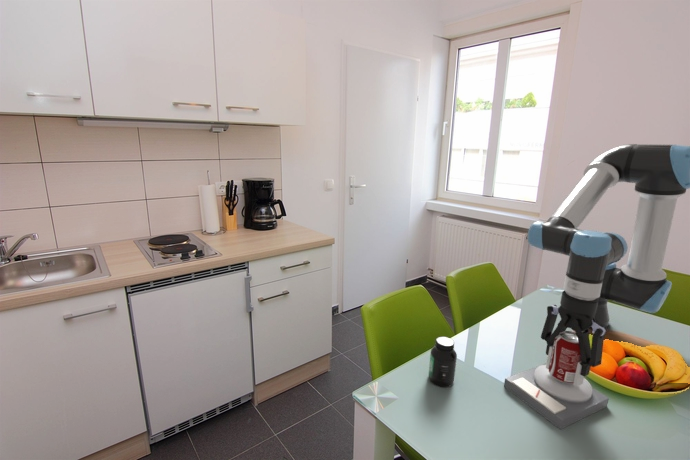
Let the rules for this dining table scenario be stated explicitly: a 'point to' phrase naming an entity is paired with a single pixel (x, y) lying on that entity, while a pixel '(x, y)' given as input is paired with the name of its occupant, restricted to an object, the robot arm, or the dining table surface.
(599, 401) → the scale
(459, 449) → the dining table surface
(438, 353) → the supplement bottle
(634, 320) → the dining table surface
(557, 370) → the soda can
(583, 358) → the robot arm
